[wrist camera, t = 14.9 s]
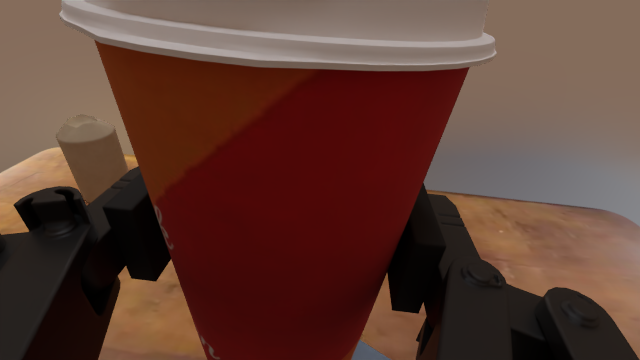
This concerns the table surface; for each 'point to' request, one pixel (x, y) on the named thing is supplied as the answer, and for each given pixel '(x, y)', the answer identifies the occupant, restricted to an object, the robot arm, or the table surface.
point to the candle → (92, 154)
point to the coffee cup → (283, 149)
